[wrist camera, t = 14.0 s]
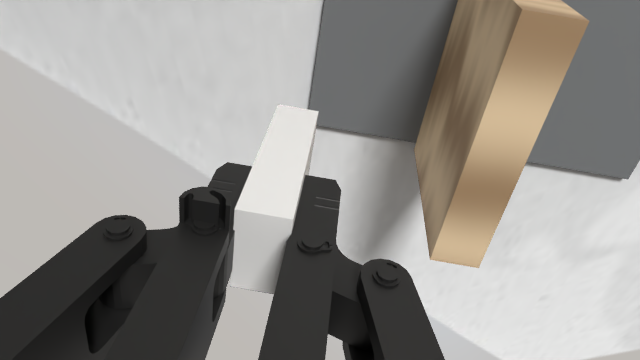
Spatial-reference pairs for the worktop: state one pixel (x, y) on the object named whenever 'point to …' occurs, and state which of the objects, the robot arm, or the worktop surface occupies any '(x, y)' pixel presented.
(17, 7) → the worktop surface
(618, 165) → the rubber mat
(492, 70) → the oak board
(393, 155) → the worktop surface
